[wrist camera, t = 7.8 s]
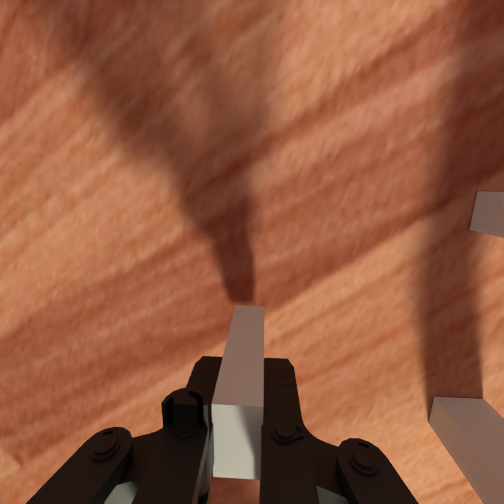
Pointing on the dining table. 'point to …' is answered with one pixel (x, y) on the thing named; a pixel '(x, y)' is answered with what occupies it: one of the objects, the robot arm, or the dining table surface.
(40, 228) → the dining table surface
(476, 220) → the bridge
